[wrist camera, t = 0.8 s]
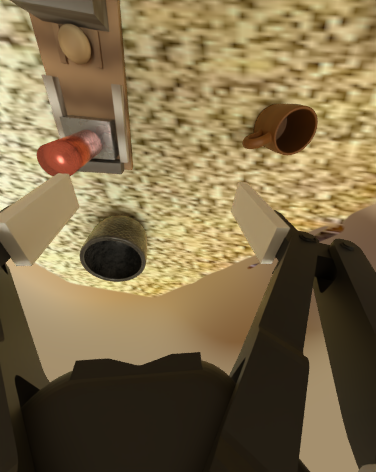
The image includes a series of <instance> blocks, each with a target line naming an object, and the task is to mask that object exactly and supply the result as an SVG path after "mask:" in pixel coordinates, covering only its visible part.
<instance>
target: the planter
mask: <svg viewBox="0 0 376 472" xmlns="http://www.w3.org/2000/svg"><path fill="white" fill-rule="evenodd" d="M146 259H147V236H146V232H145V230H144V228H143V226H142V225H141V224H140V223H139V222H138V221H137V220H135V219H133V218H131V217H128V216H124V215H114V216H110V217H107V218H105V219H104V220H102V221H101V222H100V223H99V224H98V225H97V226H96V227H95V228H94V230H93V231H92V232H91V234H90V235H89V237H88V238H87V240H86V241H85V243H84V244H83V246H82V248H81V251H80V261H81V263H82V265H83V267H84V268H85V269H86V270H87V271H88V272H89V273H91V274H92V275H94V276H96V277H98V278H100V279H103V280H107V281H114V282H120V281H127V280H131V279H133V278H135V277H137V276H138V275H140V274H141V273H142V271H143V270H144V268H145V265H146Z"/></svg>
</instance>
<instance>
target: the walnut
mask: <svg viewBox="0 0 376 472" xmlns="http://www.w3.org/2000/svg"><path fill="white" fill-rule="evenodd" d="M58 41H59V44H60V47H61V49H62V51H63V53H64V54H65V55H66V56H67V58H68V59H70V60H71V61H72V62H74V63H76V64H85V63H87V62H88V61H89V59H90V57H91V46H90V43H89V41H88V38H87V37H86V35H85V34H84V32H83V31H82V30H81V29H80V28H78V27H77V26H75V25H73V24H64V25H62V26H61V27H60V29H59V32H58Z"/></svg>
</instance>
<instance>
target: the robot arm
mask: <svg viewBox="0 0 376 472" xmlns="http://www.w3.org/2000/svg"><path fill="white" fill-rule="evenodd" d="M78 208H79V204H78V201H77V198H76V194H75V191H74V188H73V185H72V182H71V179H70V175H69V174H61V173H58V174H56V175H55V176H53V177H52V178H50V179H49V180H47V181H46V182H44V183H43V184H42V185H40V186H39V187H37V188H36V189H34V190H33V191H31V192H30V193H28V194H27V195H25V196H24V197H23V198H21V199H20V200H18V201H17V202H15V203H14V204H12V205H10V206H8V207H6V208H4V209H3V210H1V211H0V472H310V471H309V470H308V469H307V467H306V466H305V465H304V464H303V463H302V461H301V460H300V459H299V452H300V443H301V434H302V426H303V418H304V410H305V401H306V392H307V384H308V375H309V360H308V358H307V357H305V356H304V355H303V347H304V341H305V334H306V328H307V321H308V315H309V308H310V301H311V294H312V288H313V289H314V293H315V298H316V302H317V307H318V311H319V316H320V320H321V325H322V329H323V333H324V337H325V342H326V347H327V351H328V355H329V360H330V365H331V369H332V374H333V378H334V383H335V387H336V392H337V396H338V401H339V405H340V409H341V414H342V418H343V422H344V425H345V429H346V433H347V437H348V440H349V443H350V445H351V449H352V451H353V454H354V457H355V460H356V463H357V465H358V468H359V472H376V272H375V271H374V269H373V267H372V266H371V264H370V263H369V261H368V259H367V258H366V256H365V255H364V253H363V251H362V250H361V249H360V248H359V247H358V246H357V245H355V244H354V243H353V242H351V241H348V240H344V239H335V240H334V241H333V242H332V243H331V245H327V244H322V243H319V240H318V239H317V238H316V237H315V236H313V235H311V234H309V233H306V232H303V231H298V230H297V229H296V228H295V227H294V226H293V225H292V224H291V223H290V222H288V220H287V219H285V217H284V216H283V215H282V214H281V213H279V212H277V211H276V210H273V209H272V208H271V207H270V206H269V205H268V204H267V203H266V202H265V201H264V200H263V199H262V198H261V197H260V196H259V195H258V193H257V192H256V191H255V190H254V189H253V188H252V187H251V186H250V185H249V184H248V183H243V182H238V186H237V190H236V194H235V198H234V202H233V206H232V210H231V212H232V214H233V216H234V218H235V219H236V221H237V223H238V225H239V226H240V228H241V230H242V232H243V234H244V235H245V237H246V239H247V241H248V242H249V244H250V246H251V248H252V250H253V251H254V253H255V255H256V257H257V258H258V260H259V262H260V264H272V262H273V260H274V258H275V257H276V258H277V259H278V261H279V262H278V263H277V265H276V267H275V269H274V271H273V273H272V274H273V275H272V277H271V280H270V282H269V284H268V287H267V290H266V292H265V294H264V297H263V299H262V301H261V304H260V306H259V308H258V311H257V313H256V316H255V318H254V320H253V323H252V325H251V328H250V330H249V333H248V335H247V337H246V340H245V342H244V344H243V347H242V349H241V352H240V354H239V356H238V359H237V361H236V363H235V365H234V367H233V369H232V371H231V373H230V375H229V376H228V375H227V374H226V373H225V372H224V371H222V370H221V369H220V368H218V367H216V366H215V365H213V364H210V363H208V362H205V361H202V360H201V355H200V352H197V353H196V352H195V353H181V354H171V355H168V356H165V357H163V358H160V359H158V360H154V361H152V362H149V363H146V364H144V365H133V364H129V363H125V362H121V361H117V360H112V359H94V360H81V361H76V362H75V365H74V368H73V371H71V372H68V373H66V374H64V375H62V376H60V377H58V378H57V379H55V380H54V381H52V382H49V380H48V379H47V377H46V375H45V374H44V371H43V369H42V366H41V363H40V360H39V357H38V354H37V351H36V348H35V345H34V342H33V339H32V336H31V333H30V330H29V327H28V324H27V321H26V318H25V315H24V312H23V309H22V306H21V303H20V300H19V297H18V294H17V291H16V288H15V285H14V282H13V279H12V276H11V273H10V270H9V267H8V266H7V265H6V262H7V261H8V260H9V259H10V258H11V259H12V260H13V262H14V263H15V264H16V266H32V265H33V264H34V263H35V261H36V260H37V259H38V258H39V256H40V255H41V254H42V253H43V251H44V250H45V249H46V248H47V247H48V245H49V244H50V243H51V242H52V240H53V239H54V238H55V237H56V235H57V234H58V233H59V232H60V230H61V229H62V228H63V227H64V226H65V224H66V223H67V222H68V221H69V219H70V218H71V217H72V216H73V214H74V213H75V212H76V211H77V209H78Z"/></svg>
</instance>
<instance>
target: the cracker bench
mask: <svg viewBox="0 0 376 472" xmlns="http://www.w3.org/2000/svg"><path fill="white" fill-rule="evenodd" d="M10 1H12V2H13V3H15V4H16V5H18V6H20V7H21V8H23V9H24V10H26V11H28V12H29V15H30V18H31V22H32V26H33V29H34V33H35V36H36V40H37V43H38V47H39V51H40V54H41V58H42V61H43V65H44V69H45V72H46V75H42V77H43V81H44V84H45V88H46V91H47V95H48V98H49V101H50V105H51V108H52V112H53V115H54V119H55V122H56V126H57V129H58V132H59V136H60V139H61V138H63V137H65V135H64V132H63V128H62V124H61V121H60V116H66V115H76V116H85V117H95V118H104V119H114V120H115V125H116V134H117V142H118V150H119V155H118V156H117V158H116V159H115V160H110V159H97V158H92V159H91V160H90V161H89V162H87V163H86V164H85V165H84V166H83V167H81V168H80V169H79V170H78V171H81V172H96V173H112V174H122V173H123V171H124V170H132V168H133V160H132V148H131V136H130V123H129V111H128V99H127V87H126V75H125V62H124V50H123V38H122V26H121V13H120V1H119V0H10ZM64 24H73V25H75V26H77V27H78V28H80V29H81V30H82V31H83V32H84V34H85V35H86V37H87V38H88V41H89V43H90V46H91V57H90V59H89V61H88V62H87V63H85V64H76V63H74V62H72V61H71V60H70V59H68V58H67V56H66V55H65V54H64V53H63V51H62V49H61V47H60V44H59V41H58V32H59V29H60V27H61V26H62V25H64Z"/></svg>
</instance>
